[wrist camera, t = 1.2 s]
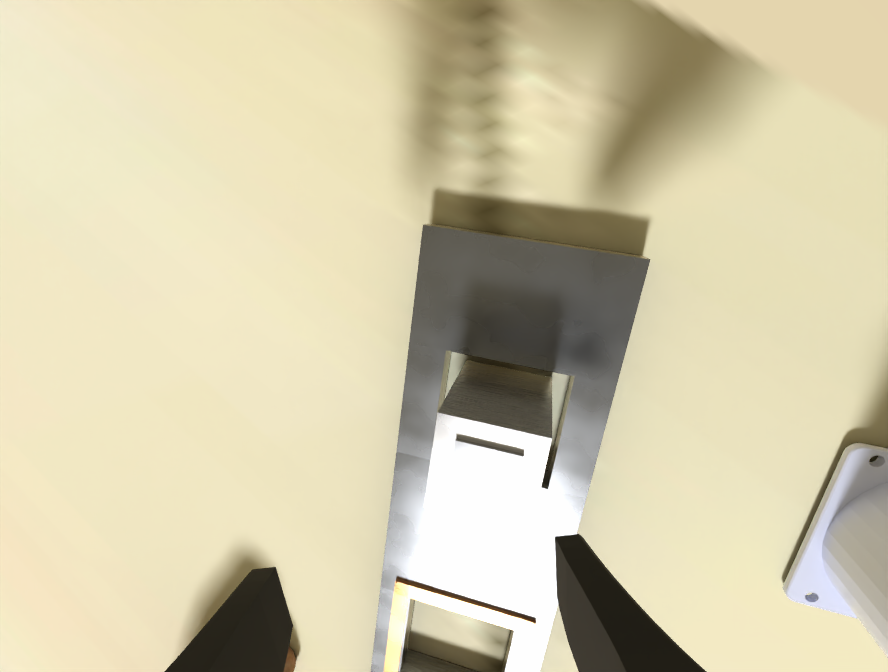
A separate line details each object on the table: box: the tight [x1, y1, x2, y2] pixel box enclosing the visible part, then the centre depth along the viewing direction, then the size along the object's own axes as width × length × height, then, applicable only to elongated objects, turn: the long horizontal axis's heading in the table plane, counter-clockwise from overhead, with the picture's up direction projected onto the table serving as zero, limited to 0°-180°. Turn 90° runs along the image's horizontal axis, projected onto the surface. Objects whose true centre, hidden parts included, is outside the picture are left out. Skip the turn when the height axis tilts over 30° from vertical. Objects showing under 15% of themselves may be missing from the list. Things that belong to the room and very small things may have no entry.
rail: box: [371, 224, 650, 672], centre depth 23 cm, size 9×30×2 cm, turn 172°
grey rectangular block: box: [424, 360, 552, 536], centre depth 19 cm, size 4×4×6 cm
